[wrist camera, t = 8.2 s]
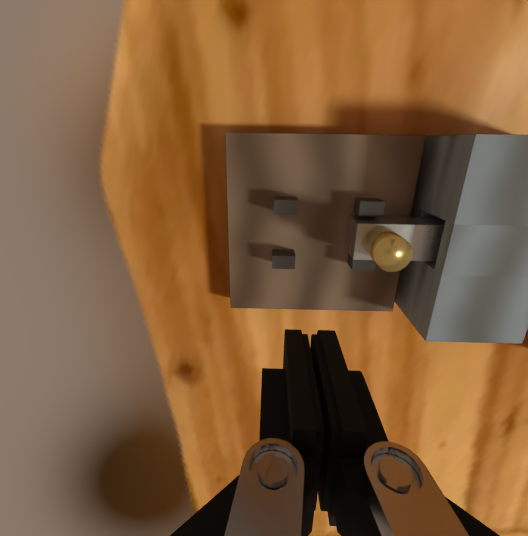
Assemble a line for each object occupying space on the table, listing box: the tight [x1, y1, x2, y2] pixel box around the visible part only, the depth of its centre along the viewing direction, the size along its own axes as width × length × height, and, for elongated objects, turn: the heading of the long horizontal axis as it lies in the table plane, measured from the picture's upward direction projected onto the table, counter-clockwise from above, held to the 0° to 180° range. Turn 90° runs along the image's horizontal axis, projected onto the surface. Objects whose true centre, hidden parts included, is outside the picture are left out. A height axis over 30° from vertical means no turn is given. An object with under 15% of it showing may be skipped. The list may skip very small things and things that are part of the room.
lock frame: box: [225, 133, 528, 344], centre depth 27 cm, size 25×16×7 cm, turn 89°
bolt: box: [345, 215, 445, 272], centre depth 25 cm, size 12×3×6 cm, turn 89°
